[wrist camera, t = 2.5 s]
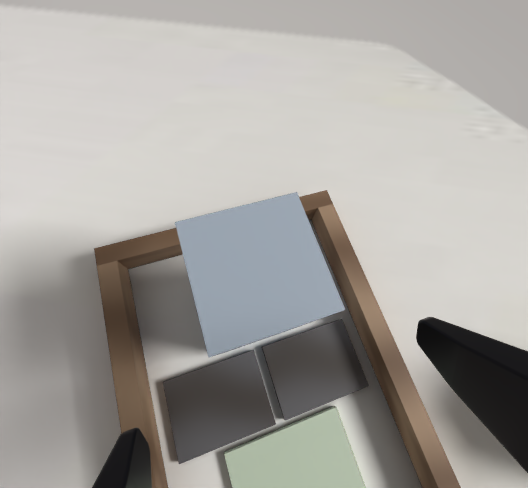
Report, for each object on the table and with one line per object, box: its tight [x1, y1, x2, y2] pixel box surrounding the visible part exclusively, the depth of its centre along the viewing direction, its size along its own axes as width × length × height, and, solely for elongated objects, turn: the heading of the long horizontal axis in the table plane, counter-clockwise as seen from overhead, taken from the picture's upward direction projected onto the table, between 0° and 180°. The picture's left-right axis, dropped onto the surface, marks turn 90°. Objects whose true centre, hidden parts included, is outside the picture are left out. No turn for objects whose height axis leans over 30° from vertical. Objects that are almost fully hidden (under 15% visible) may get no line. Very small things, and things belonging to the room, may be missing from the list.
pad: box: [224, 406, 366, 488], centre depth 16 cm, size 6×7×1 cm
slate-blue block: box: [175, 192, 345, 357], centre depth 15 cm, size 4×4×11 cm
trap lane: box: [94, 190, 461, 488], centre depth 17 cm, size 26×16×2 cm, turn 18°
